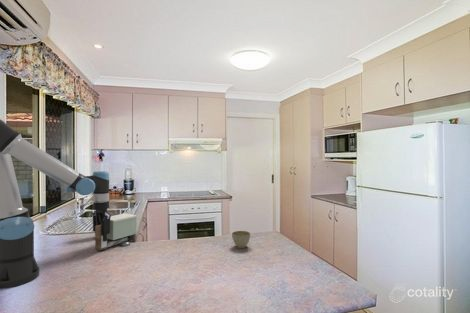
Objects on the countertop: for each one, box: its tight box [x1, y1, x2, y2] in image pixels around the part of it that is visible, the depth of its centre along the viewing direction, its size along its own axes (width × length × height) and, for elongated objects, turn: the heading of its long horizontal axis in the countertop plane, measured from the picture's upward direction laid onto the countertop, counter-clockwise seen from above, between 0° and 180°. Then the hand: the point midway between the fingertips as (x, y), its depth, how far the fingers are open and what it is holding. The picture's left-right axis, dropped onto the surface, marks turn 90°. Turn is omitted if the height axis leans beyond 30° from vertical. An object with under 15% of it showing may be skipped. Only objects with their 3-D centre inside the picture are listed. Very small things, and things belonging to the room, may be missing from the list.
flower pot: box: [231, 230, 251, 249], centre depth 141 cm, size 10×10×7 cm
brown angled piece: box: [94, 225, 129, 252], centre depth 141 cm, size 17×4×12 cm, turn 147°
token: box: [119, 240, 131, 248], centre depth 144 cm, size 5×5×2 cm
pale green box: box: [107, 212, 138, 243], centre depth 146 cm, size 14×11×15 cm
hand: (101, 246), depth 136 cm, fingers closed on brown angled piece, 4 cm apart
